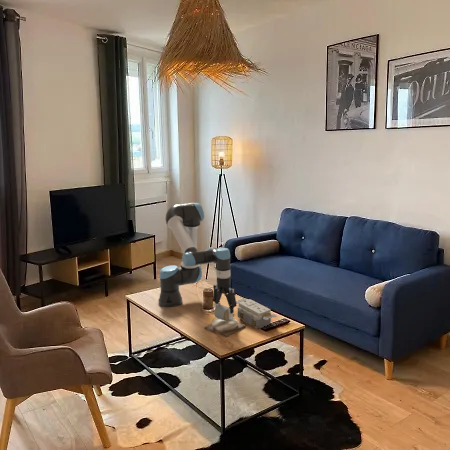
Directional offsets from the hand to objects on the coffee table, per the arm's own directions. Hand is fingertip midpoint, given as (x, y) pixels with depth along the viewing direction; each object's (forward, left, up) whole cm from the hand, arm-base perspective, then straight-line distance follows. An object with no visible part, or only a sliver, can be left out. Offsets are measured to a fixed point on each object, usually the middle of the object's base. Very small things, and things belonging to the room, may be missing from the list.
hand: (224, 316), depth 247 cm
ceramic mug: (0, +1, -2) cm, 2 cm away
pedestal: (0, 0, -7) cm, 7 cm away
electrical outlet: (+8, +17, -7) cm, 20 cm away
